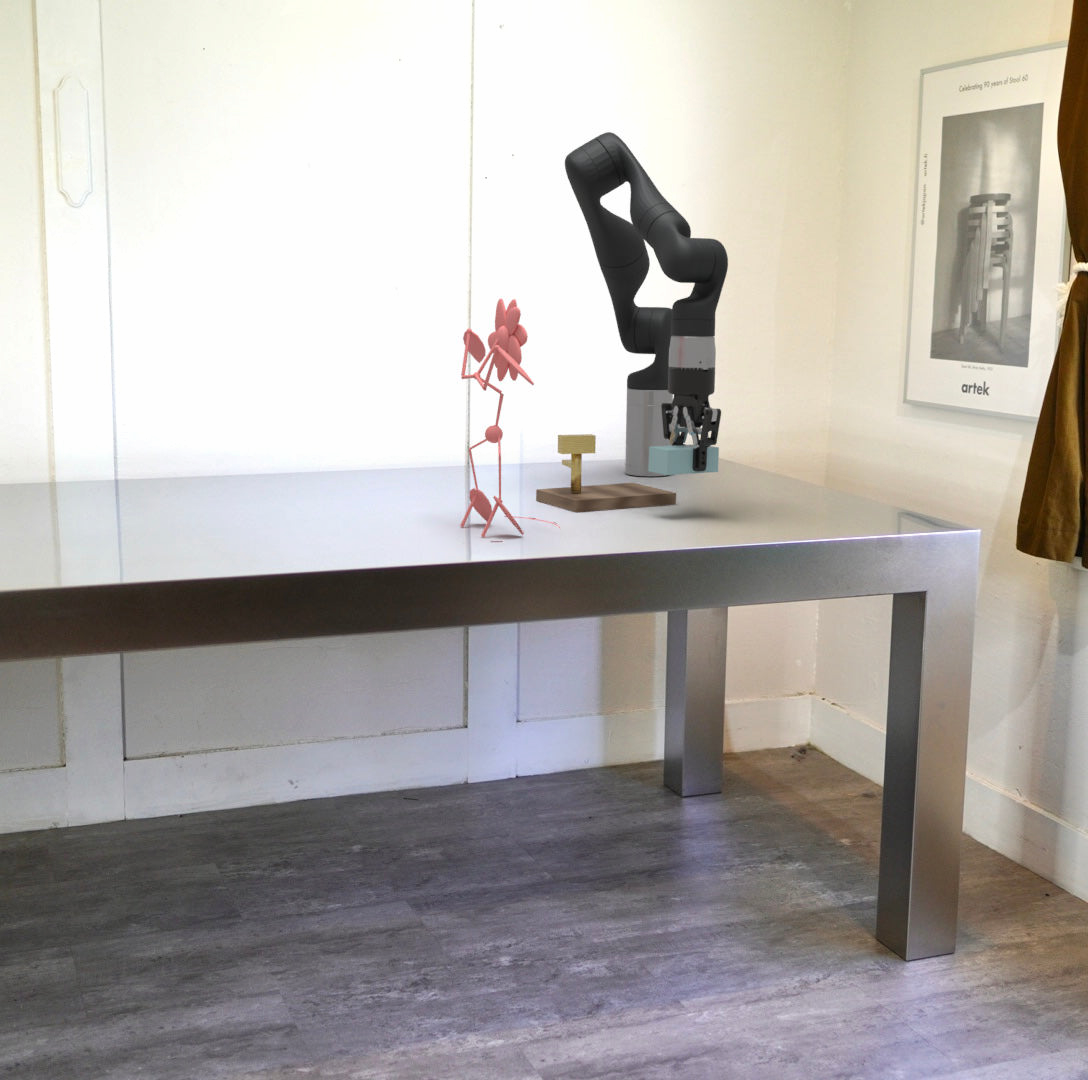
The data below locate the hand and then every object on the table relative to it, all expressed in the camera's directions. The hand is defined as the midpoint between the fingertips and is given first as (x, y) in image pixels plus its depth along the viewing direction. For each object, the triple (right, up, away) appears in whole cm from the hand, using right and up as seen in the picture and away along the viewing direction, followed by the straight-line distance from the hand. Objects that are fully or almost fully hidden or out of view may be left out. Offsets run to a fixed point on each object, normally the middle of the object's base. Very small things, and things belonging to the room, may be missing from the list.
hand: (688, 468), depth 218 cm
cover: (-1, 0, 0) cm, 1 cm away
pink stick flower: (-28, -10, -13) cm, 33 cm away
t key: (-19, -3, +14) cm, 23 cm away
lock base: (-13, -5, +15) cm, 20 cm away
